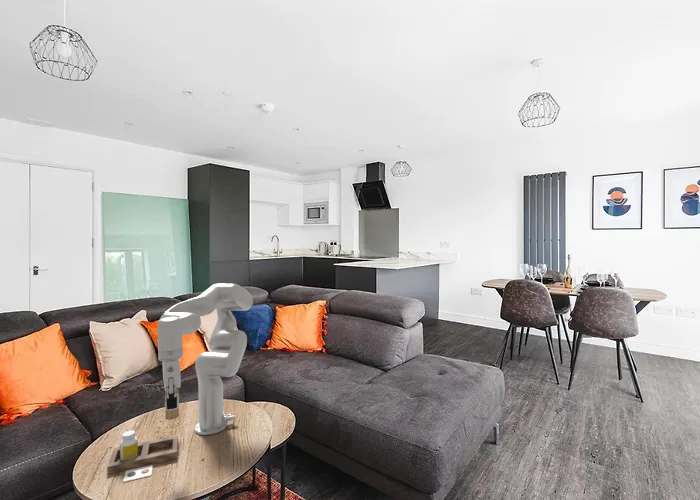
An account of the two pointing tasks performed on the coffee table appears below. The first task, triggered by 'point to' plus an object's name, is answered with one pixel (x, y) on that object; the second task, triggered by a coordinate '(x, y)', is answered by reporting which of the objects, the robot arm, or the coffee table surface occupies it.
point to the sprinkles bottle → (172, 412)
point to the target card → (138, 473)
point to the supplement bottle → (128, 446)
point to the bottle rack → (144, 455)
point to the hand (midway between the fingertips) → (172, 404)
